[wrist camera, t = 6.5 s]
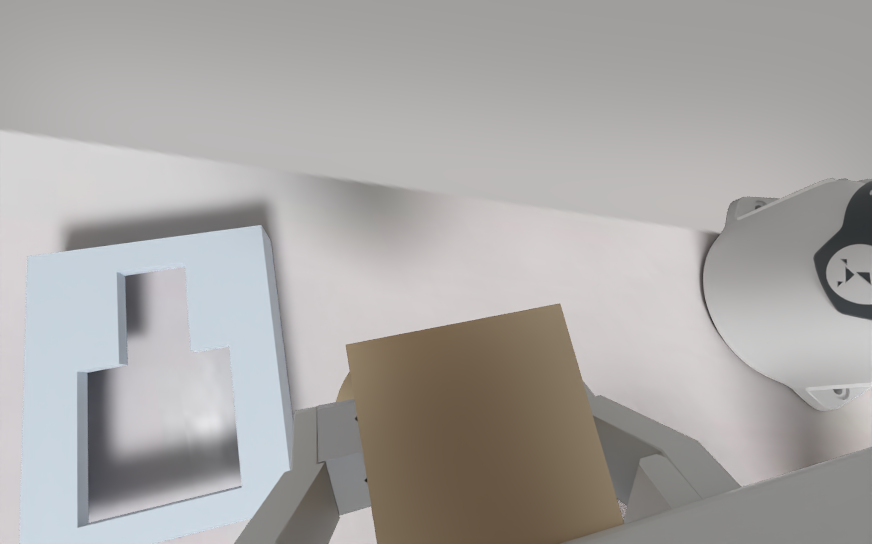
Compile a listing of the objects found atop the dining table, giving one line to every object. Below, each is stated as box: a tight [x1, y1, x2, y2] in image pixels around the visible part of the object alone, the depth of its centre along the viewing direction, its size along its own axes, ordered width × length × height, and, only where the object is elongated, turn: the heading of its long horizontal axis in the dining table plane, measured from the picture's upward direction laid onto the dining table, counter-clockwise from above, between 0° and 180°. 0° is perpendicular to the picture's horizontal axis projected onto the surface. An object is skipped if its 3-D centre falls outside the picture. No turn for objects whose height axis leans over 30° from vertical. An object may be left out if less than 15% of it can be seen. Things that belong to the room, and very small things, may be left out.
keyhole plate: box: [19, 225, 293, 544], centre depth 28 cm, size 14×18×3 cm
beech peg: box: [336, 304, 624, 544], centre depth 12 cm, size 6×6×11 cm
